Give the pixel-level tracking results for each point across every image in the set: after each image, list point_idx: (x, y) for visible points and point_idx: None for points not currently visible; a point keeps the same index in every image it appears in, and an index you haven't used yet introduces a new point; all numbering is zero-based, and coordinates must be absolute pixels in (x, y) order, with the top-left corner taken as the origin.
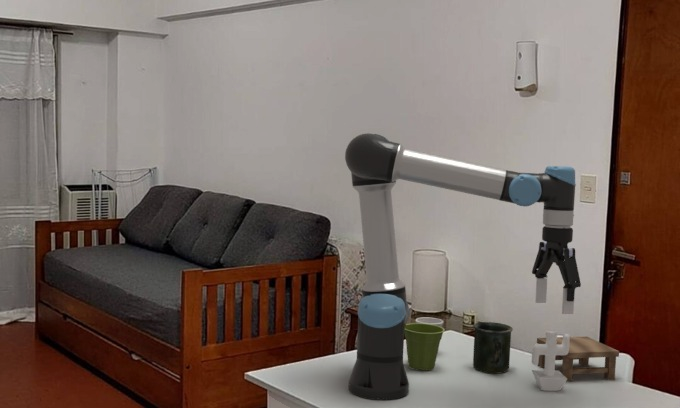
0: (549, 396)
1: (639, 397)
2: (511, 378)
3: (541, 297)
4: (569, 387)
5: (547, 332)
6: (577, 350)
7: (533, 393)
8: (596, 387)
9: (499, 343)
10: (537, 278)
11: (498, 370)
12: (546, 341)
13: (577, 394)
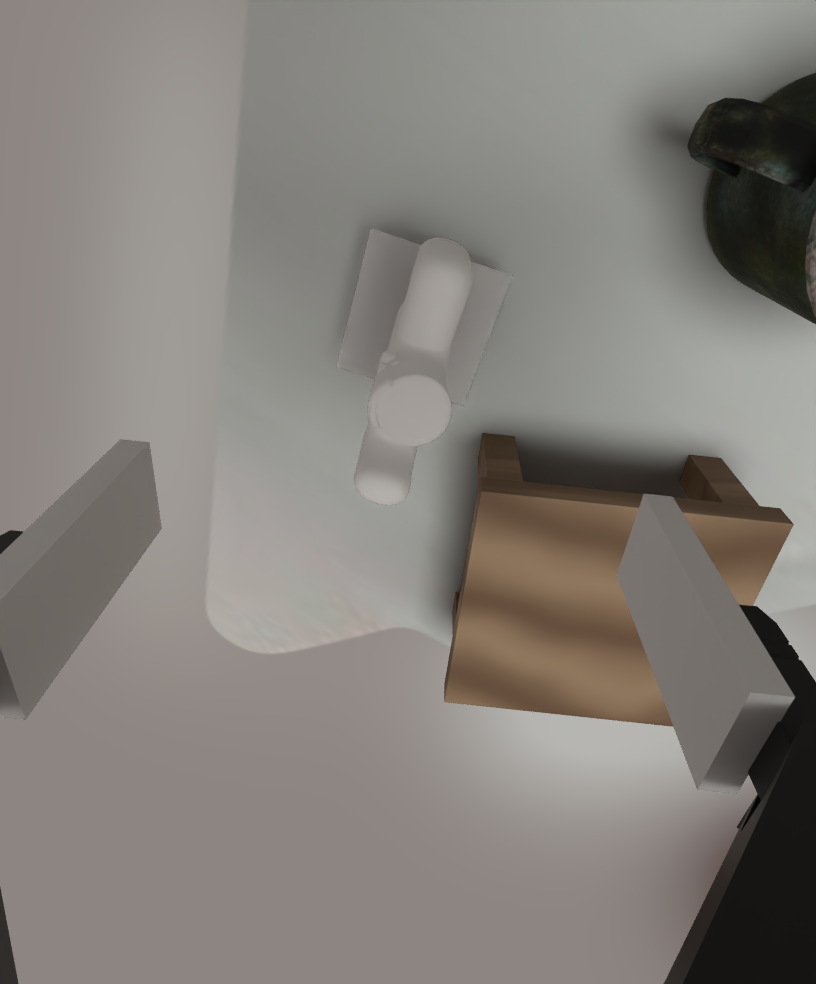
0: (315, 234)
1: (260, 565)
2: (612, 206)
3: (646, 568)
4: None
5: (407, 376)
6: (505, 565)
7: (368, 178)
8: None
9: (737, 138)
10: (777, 700)
11: (714, 176)
12: (421, 357)
13: (321, 378)
